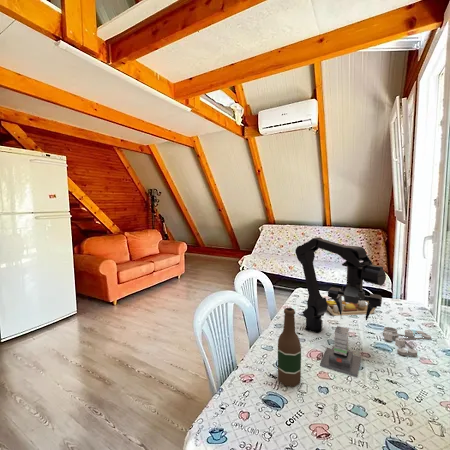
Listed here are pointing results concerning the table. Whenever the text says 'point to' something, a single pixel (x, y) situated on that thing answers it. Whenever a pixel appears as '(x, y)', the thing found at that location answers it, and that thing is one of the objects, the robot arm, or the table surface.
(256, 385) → the table surface
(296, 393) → the table surface
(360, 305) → the toy food set
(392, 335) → the pulley system
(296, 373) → the beer bottle
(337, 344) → the grey slab
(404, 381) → the table surface
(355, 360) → the stand base
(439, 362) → the table surface
